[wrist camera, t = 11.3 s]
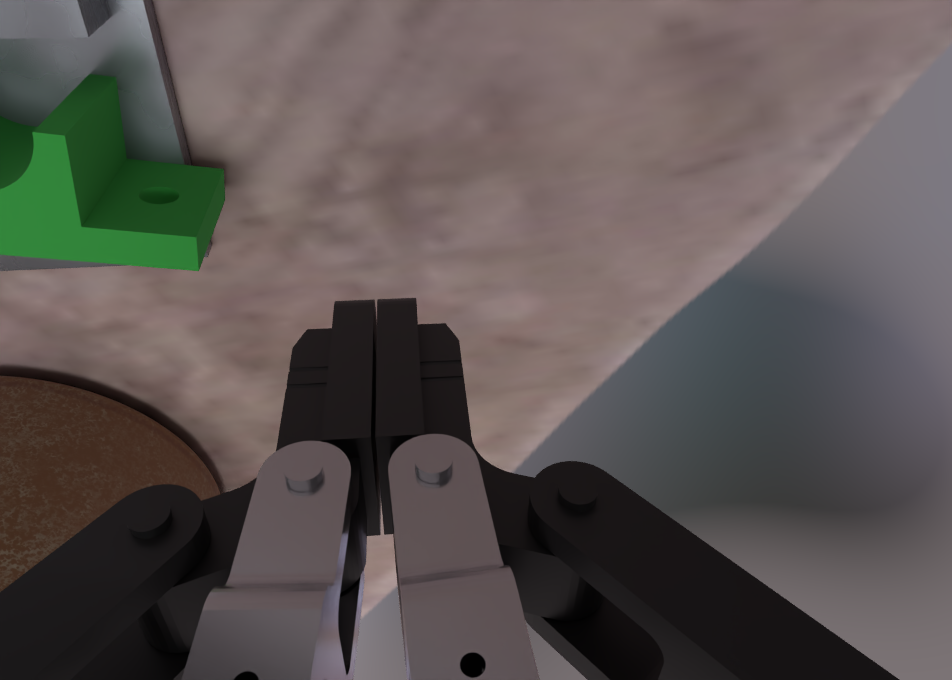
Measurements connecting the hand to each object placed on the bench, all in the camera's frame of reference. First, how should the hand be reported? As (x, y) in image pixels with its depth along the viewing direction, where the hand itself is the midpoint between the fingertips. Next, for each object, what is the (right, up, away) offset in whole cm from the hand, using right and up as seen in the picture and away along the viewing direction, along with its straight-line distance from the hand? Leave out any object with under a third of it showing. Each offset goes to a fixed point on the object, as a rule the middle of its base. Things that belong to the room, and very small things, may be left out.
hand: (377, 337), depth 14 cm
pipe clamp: (-12, +7, +9) cm, 16 cm away
